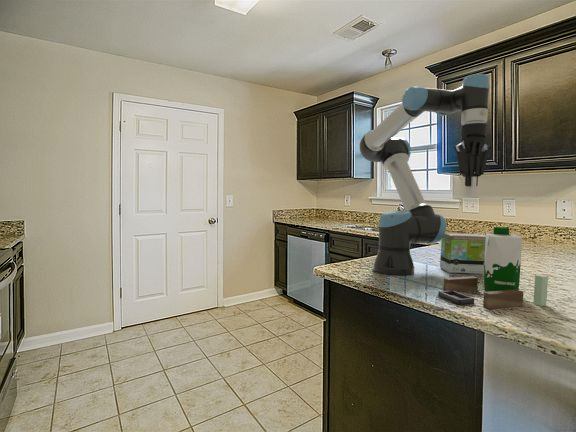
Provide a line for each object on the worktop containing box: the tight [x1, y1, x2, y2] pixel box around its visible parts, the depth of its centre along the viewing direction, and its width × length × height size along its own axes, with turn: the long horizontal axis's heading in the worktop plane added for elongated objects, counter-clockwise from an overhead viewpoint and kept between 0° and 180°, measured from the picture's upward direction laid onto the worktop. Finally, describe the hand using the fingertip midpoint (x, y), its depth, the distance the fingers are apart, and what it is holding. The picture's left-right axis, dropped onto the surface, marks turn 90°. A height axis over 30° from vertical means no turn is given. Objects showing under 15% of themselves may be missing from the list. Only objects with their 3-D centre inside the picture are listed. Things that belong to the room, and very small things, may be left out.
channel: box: [442, 275, 524, 310], centre depth 95 cm, size 17×11×4 cm, turn 15°
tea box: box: [439, 232, 486, 275], centre depth 129 cm, size 15×10×15 cm, turn 86°
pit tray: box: [437, 290, 475, 306], centre depth 93 cm, size 8×5×2 cm, turn 15°
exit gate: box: [482, 269, 549, 307], centre depth 98 cm, size 19×2×8 cm, turn 15°
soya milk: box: [483, 226, 523, 292], centre depth 98 cm, size 9×9×20 cm
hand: (470, 196), depth 109 cm, fingers closed
